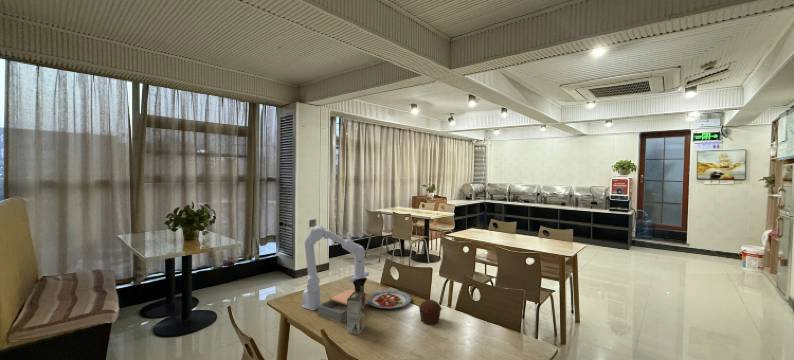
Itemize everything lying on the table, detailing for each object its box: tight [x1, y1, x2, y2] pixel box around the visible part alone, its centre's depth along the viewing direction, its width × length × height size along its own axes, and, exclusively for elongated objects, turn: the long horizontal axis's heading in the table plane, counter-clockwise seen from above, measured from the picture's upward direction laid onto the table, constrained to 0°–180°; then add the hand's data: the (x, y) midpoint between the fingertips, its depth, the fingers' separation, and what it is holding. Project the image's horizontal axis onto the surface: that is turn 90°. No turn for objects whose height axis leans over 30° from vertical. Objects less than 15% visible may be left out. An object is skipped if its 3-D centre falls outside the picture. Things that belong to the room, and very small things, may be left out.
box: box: [317, 299, 347, 324], centre depth 174 cm, size 16×16×5 cm
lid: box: [329, 285, 373, 305], centre depth 182 cm, size 17×17×5 cm
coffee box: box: [346, 292, 367, 335], centre depth 158 cm, size 9×6×16 cm
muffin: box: [418, 299, 443, 326], centre depth 167 cm, size 12×11×10 cm
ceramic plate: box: [366, 289, 412, 309], centre depth 190 cm, size 26×26×3 cm
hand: (359, 291), depth 187 cm, fingers closed on lid, 2 cm apart
